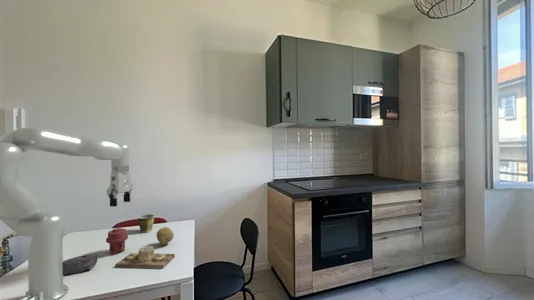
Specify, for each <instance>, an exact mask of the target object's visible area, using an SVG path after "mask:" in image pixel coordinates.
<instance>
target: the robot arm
mask: <svg viewBox="0 0 534 300" xmlns="http://www.w3.org/2000/svg"><path fill="white" fill-rule="evenodd" d="M27 151H38V152H39V151H40V152H46V153H53V154H59V155H65V156H71V157H92V158H94V159H95V160H98V161H99V160H100V161H110V163H111V164H110V167H111V168H110V169H111V170H110V172H111V173H110V178H109V187H108V188H107V189H106V190H105V191H106V193H107V197H108V199H109V207H117V206H118V198H117V195H119V194H123V193H124V194H123V203H130V202H131V194H132V190H133V183H132V176H131V173H130V148H129V145H127V144H118V143H115V142H111V141H106V140H102V139H96V138H90V137H88V136H87V137H85V136H81V135H75V134H73V133H72V134H70V133H68V132H67V133H66V132H63V131H57V130H53V129H49V128H47V127H39V126H29V127H21V128H17V129H15V130H11V131H10V132H7V133H5V134H1V135H0V221H2V222H3V224H5V225H6V226H7V227H9V229H10V230H12V231H14V232H15V233H16V234H18V235H20V236H23V237H28V238H31V240H30V244H29V246H28V250H27V251H28V252H27V260H28V261H27V263H28V264H27V265H28V268H27V269H28V272H27V273H28V274H27V275H28V278H27V279H28V290H27V291H25V295H24V296H23V297H22V298H21V299H19V300H56V299H57V300H59V299H61V298H63V297H64V296H65V295H66V294H67V293H68V291H69V286H68V285H67V284H64V274H63V259H64V258H63V255H64V254H63V240H64V232H65V230H66V220H65V218H64V217H63V216H62V215H60V214H59V213H56V212H51V211H42V209H43V207H44V206H43V201H42V199H41V198H40V196H38V195H37V194H36V192H34V191H33V190H32V189H31V188H30V187H29V186H28V185H27V184H26V183H25V181H24V180H23V179H22V178H21V176H20V175H19V168H20V166H21V163H22V162H23V158H24V153H26V152H27Z"/></svg>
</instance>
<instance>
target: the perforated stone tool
mask: <svg viewBox="0 0 534 300" xmlns="http://www.w3.org/2000/svg"><path fill="white" fill-rule="evenodd" d="M98 259H99V258H98V254H97V253H90V254H82V255H79V256H74V257H72V258H69V259H65V260H64V261H63V275H69V274H78V273H83V272H85V271H90V270H92V269H93V268H94V267H96V265H97V263H98Z"/></svg>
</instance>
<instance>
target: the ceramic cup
mask: <svg viewBox="0 0 534 300" xmlns="http://www.w3.org/2000/svg"><path fill="white" fill-rule="evenodd" d="M154 220H155V214H150V213H149V214H142V215H139V216H138V217H137V223H138V225H139V230H140V233H141V234H147V233H151V232H152V230H153V227H154Z"/></svg>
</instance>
